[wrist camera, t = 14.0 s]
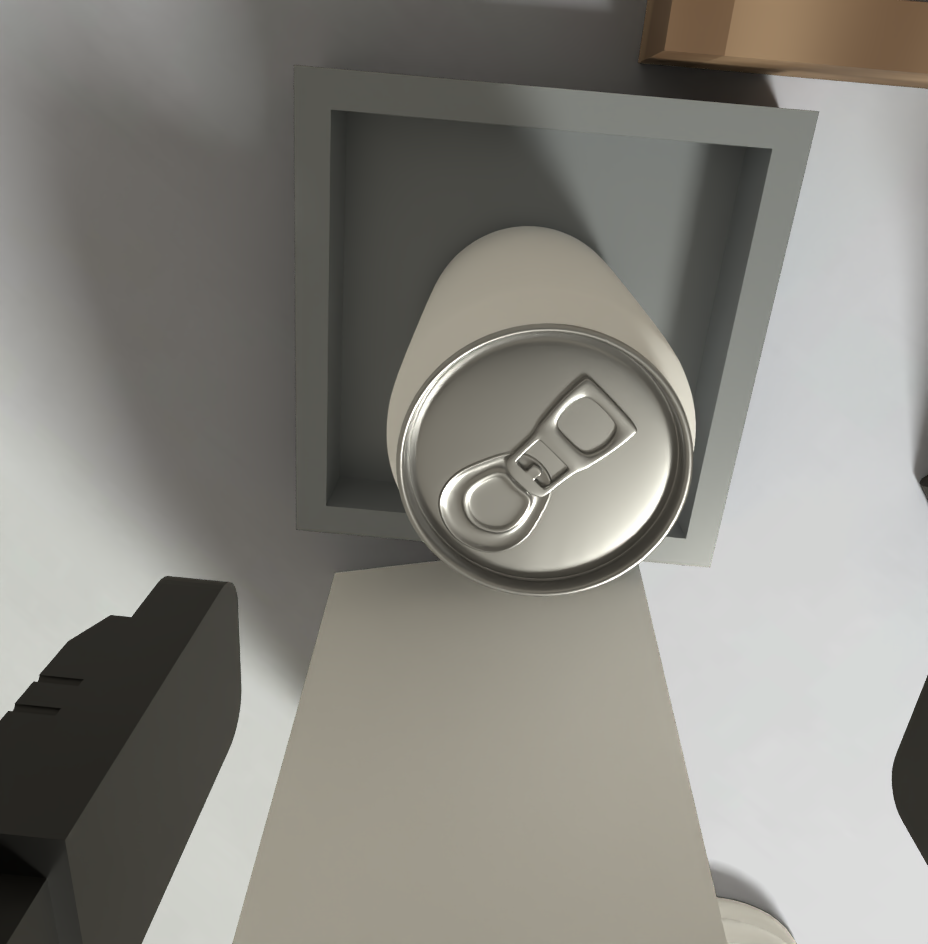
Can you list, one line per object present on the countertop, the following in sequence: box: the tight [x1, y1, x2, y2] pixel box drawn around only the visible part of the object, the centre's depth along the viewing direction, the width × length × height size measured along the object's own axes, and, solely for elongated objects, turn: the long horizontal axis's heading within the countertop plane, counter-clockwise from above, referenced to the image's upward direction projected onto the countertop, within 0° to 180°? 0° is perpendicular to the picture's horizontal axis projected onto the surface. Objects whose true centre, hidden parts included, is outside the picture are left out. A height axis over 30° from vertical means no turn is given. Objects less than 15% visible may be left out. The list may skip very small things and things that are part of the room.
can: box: [387, 226, 696, 597], centre depth 20 cm, size 6×6×12 cm
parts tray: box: [294, 65, 819, 567], centre depth 25 cm, size 14×14×3 cm
